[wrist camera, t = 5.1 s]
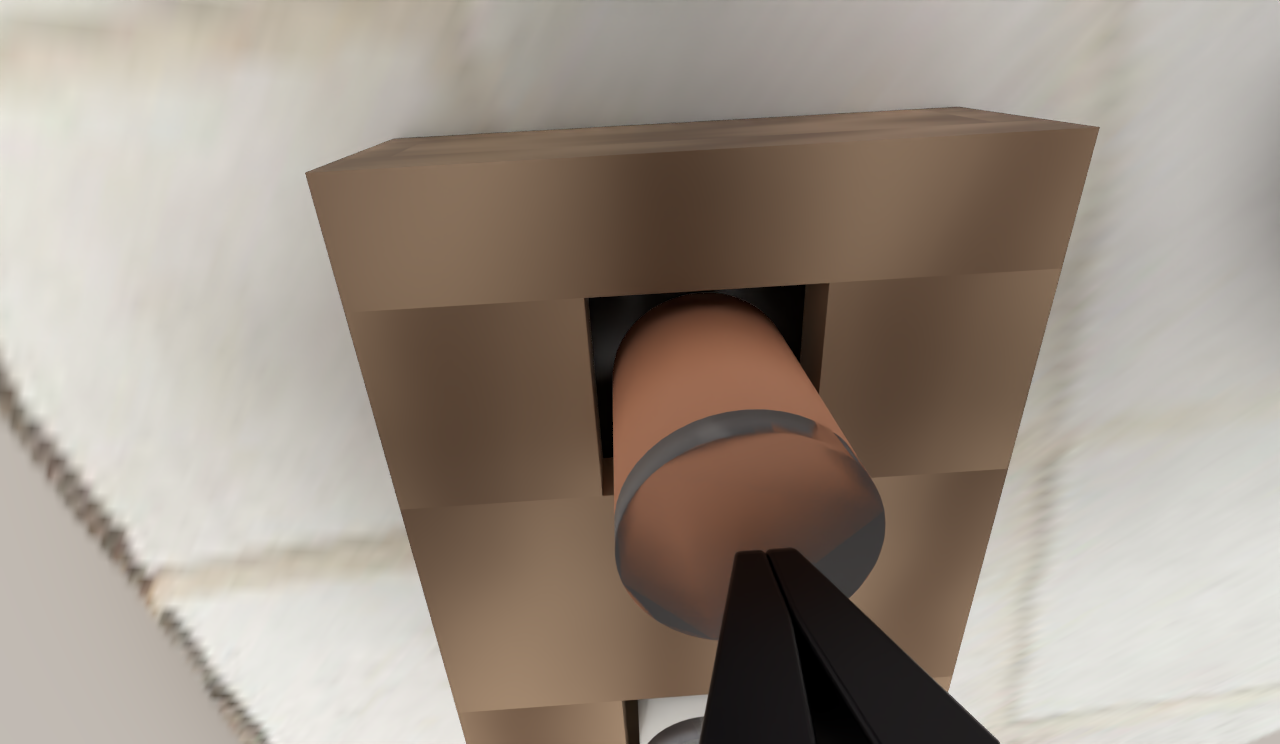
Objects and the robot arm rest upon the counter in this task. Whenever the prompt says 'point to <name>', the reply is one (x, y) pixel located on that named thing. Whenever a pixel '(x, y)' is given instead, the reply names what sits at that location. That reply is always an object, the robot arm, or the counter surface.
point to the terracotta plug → (727, 462)
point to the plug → (671, 719)
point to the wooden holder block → (681, 262)
